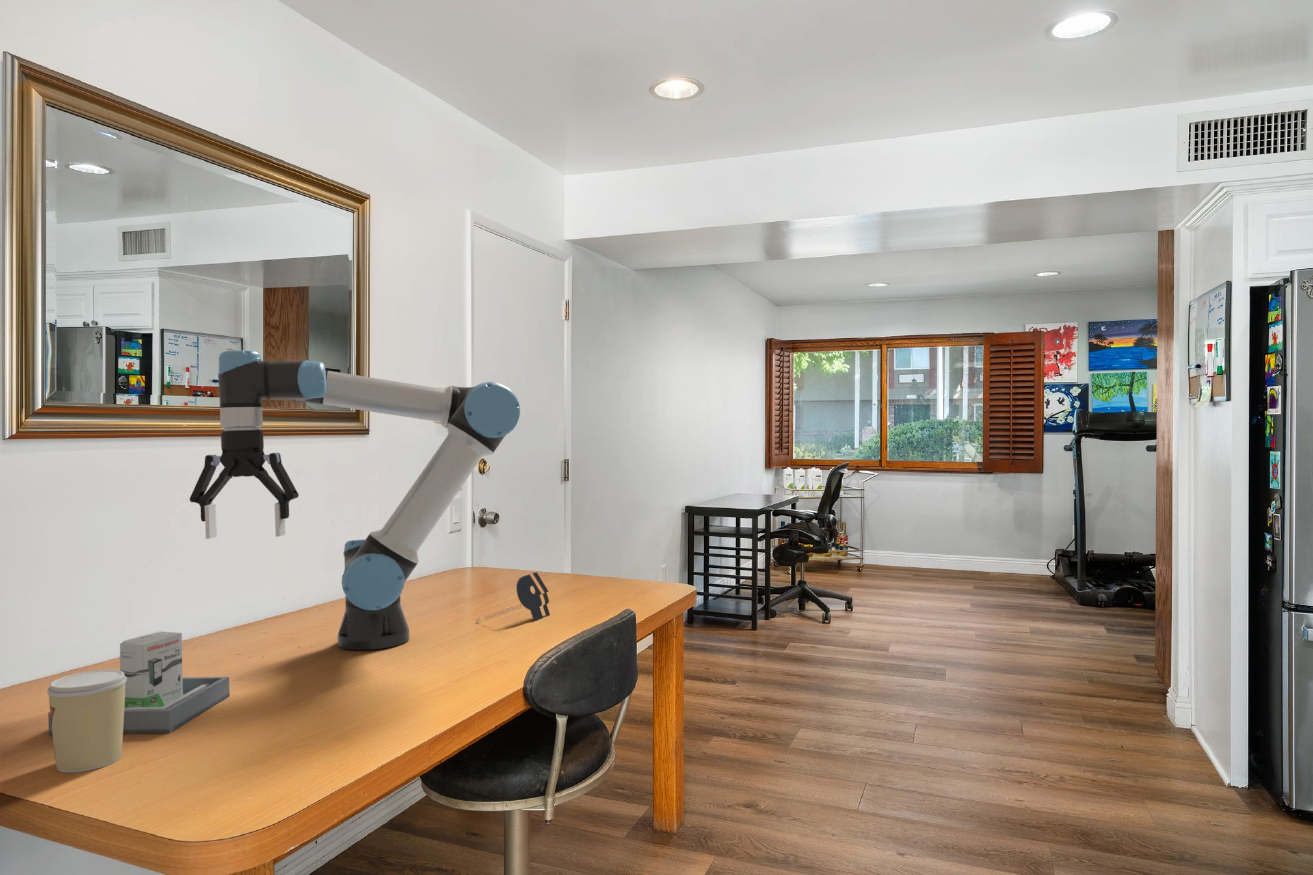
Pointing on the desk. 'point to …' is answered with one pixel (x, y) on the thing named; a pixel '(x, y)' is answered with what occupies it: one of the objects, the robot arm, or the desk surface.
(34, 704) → the desk surface
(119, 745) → the coffee cup
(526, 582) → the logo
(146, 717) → the walled tray
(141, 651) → the ink box
